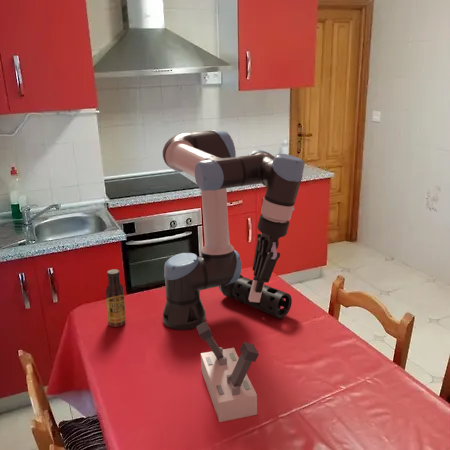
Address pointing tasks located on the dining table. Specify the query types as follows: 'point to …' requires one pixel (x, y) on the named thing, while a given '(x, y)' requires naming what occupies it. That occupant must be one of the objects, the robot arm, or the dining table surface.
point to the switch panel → (227, 386)
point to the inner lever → (209, 339)
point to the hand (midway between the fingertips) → (253, 300)
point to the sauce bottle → (115, 300)
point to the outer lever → (243, 363)
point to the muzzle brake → (268, 301)
